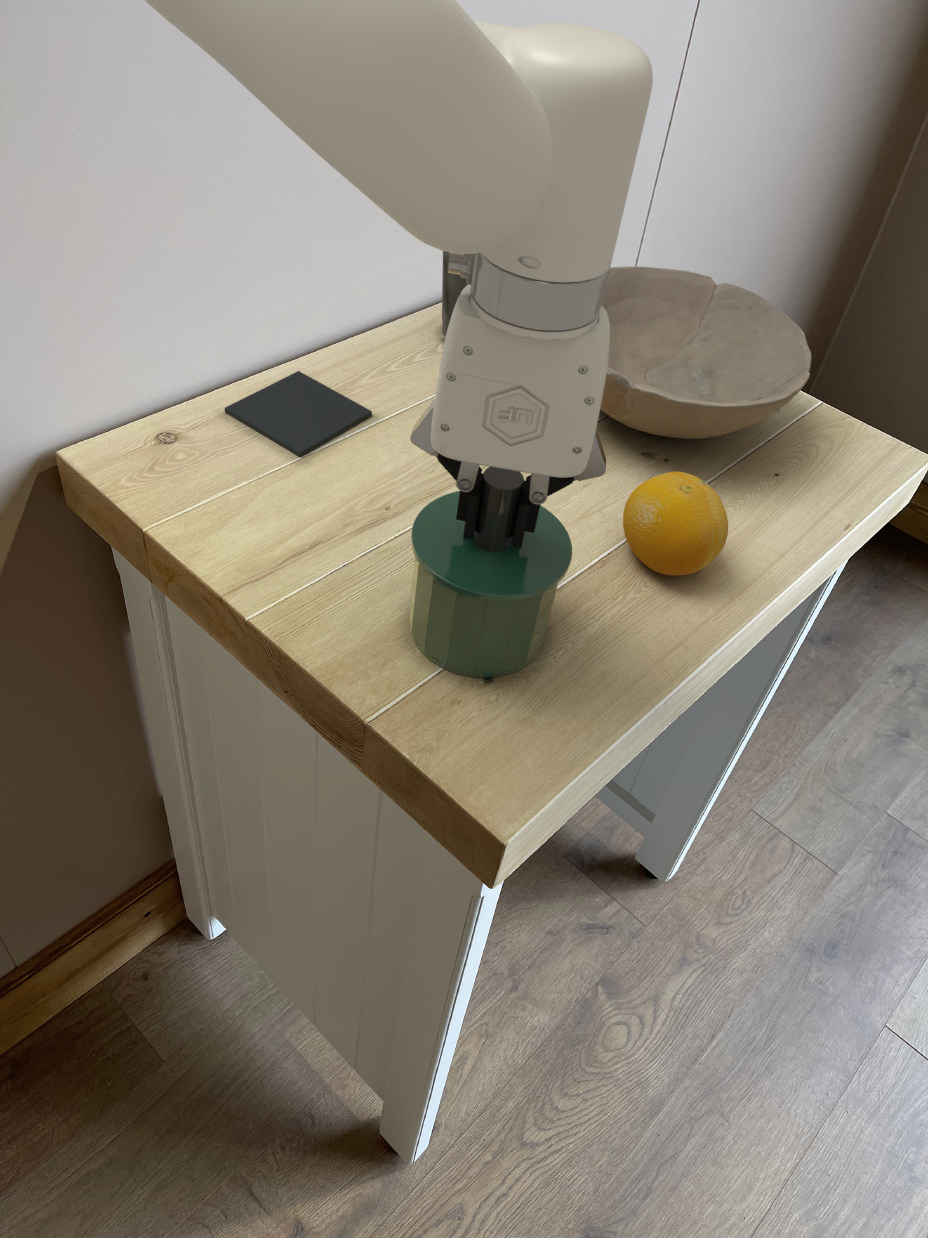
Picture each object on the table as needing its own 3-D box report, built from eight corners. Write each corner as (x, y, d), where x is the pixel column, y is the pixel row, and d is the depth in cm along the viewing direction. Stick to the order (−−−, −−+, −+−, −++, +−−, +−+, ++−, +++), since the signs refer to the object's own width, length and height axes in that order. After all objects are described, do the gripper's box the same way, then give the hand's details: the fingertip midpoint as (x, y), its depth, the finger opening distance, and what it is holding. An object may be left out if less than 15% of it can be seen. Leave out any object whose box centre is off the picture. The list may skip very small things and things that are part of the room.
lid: (377, 551, 65) (381, 475, 60) (474, 481, 72) (485, 408, 67) (509, 634, 61) (525, 559, 56) (598, 551, 68) (619, 478, 63)
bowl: (816, 411, 101) (854, 328, 94) (716, 524, 85) (752, 433, 78) (612, 322, 110) (632, 240, 103) (486, 408, 94) (500, 318, 87)
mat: (224, 412, 88) (224, 407, 88) (298, 374, 95) (298, 370, 94) (300, 457, 85) (300, 452, 85) (371, 415, 91) (372, 410, 91)
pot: (381, 628, 71) (387, 545, 65) (464, 562, 77) (476, 481, 71) (491, 700, 67) (508, 620, 61) (568, 625, 74) (591, 545, 68)
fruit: (728, 566, 81) (759, 494, 75) (676, 607, 76) (705, 533, 71) (648, 515, 85) (672, 443, 79) (594, 551, 80) (616, 477, 75)
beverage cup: (455, 310, 108) (476, 127, 94) (506, 333, 105) (535, 149, 91) (417, 331, 103) (433, 142, 89) (469, 356, 101) (494, 166, 87)
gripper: (385, 289, 50) (370, 545, 63) (682, 340, 50) (606, 586, 63) (408, 233, 55) (390, 480, 68) (677, 279, 55) (607, 517, 68)
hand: (494, 529), depth 65 cm, fingers closed on lid, 2 cm apart
